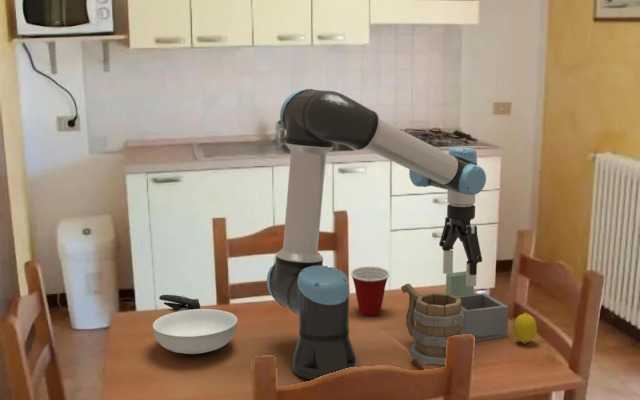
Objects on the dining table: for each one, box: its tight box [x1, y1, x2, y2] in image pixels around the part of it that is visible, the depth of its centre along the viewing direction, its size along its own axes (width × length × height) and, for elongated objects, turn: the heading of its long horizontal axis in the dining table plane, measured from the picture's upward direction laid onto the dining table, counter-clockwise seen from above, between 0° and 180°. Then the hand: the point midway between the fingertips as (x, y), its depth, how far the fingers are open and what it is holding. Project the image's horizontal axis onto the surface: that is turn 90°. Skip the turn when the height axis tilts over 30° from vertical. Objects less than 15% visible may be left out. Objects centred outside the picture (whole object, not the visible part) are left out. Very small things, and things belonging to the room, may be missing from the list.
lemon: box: [513, 312, 538, 345], centre depth 192 cm, size 6×6×8 cm
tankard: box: [400, 283, 464, 367], centre depth 188 cm, size 20×13×15 cm, turn 30°
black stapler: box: [158, 294, 201, 312], centre depth 220 cm, size 18×7×6 cm, turn 43°
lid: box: [445, 270, 475, 296], centre depth 217 cm, size 13×13×11 cm
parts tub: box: [456, 292, 509, 342], centre depth 201 cm, size 12×12×8 cm
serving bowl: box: [152, 308, 239, 355], centre depth 193 cm, size 21×21×7 cm
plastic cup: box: [350, 266, 390, 317], centre depth 216 cm, size 11×11×12 cm
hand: (458, 279), depth 216 cm, fingers open, 13 cm apart
